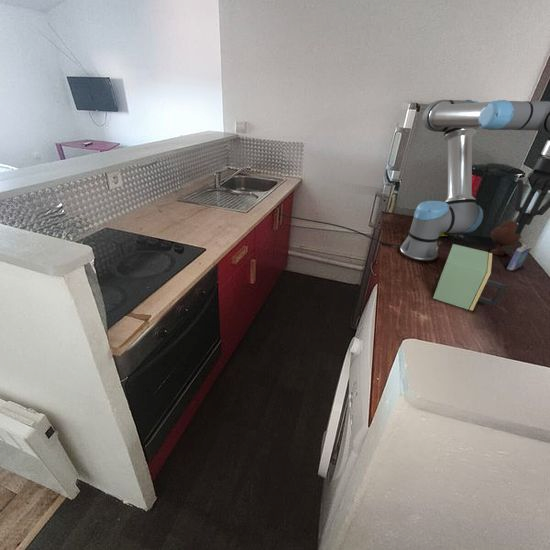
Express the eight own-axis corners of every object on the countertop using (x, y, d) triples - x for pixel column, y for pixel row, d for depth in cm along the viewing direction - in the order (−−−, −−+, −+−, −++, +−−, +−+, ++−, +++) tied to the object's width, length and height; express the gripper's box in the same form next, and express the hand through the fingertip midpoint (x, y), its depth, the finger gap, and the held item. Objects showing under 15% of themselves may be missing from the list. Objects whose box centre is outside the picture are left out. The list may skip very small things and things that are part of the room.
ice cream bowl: (478, 247, 139) (491, 217, 131) (499, 247, 140) (514, 217, 132) (494, 258, 130) (509, 226, 122) (517, 257, 131) (533, 226, 123)
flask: (511, 271, 120) (523, 248, 115) (504, 268, 122) (515, 245, 117) (522, 266, 124) (534, 243, 119) (514, 263, 127) (526, 240, 121)
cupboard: (471, 287, 109) (488, 252, 101) (468, 309, 98) (486, 271, 90) (439, 278, 114) (453, 243, 106) (432, 298, 103) (447, 261, 95)
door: (492, 293, 106) (510, 257, 98) (490, 316, 95) (511, 278, 87) (472, 287, 109) (489, 252, 101) (469, 309, 98) (487, 272, 90)
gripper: (528, 156, 85) (493, 231, 98) (588, 163, 79) (542, 242, 92) (527, 152, 90) (494, 224, 103) (583, 158, 84) (540, 233, 97)
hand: (517, 232), depth 97 cm, fingers closed
